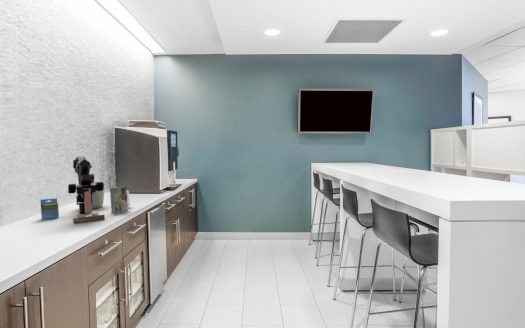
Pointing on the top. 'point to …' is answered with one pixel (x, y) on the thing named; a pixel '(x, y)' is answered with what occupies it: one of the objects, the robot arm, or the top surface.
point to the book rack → (88, 218)
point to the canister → (97, 197)
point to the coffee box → (118, 199)
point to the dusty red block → (87, 202)
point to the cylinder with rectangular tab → (128, 199)
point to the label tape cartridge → (49, 209)
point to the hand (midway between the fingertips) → (87, 198)
